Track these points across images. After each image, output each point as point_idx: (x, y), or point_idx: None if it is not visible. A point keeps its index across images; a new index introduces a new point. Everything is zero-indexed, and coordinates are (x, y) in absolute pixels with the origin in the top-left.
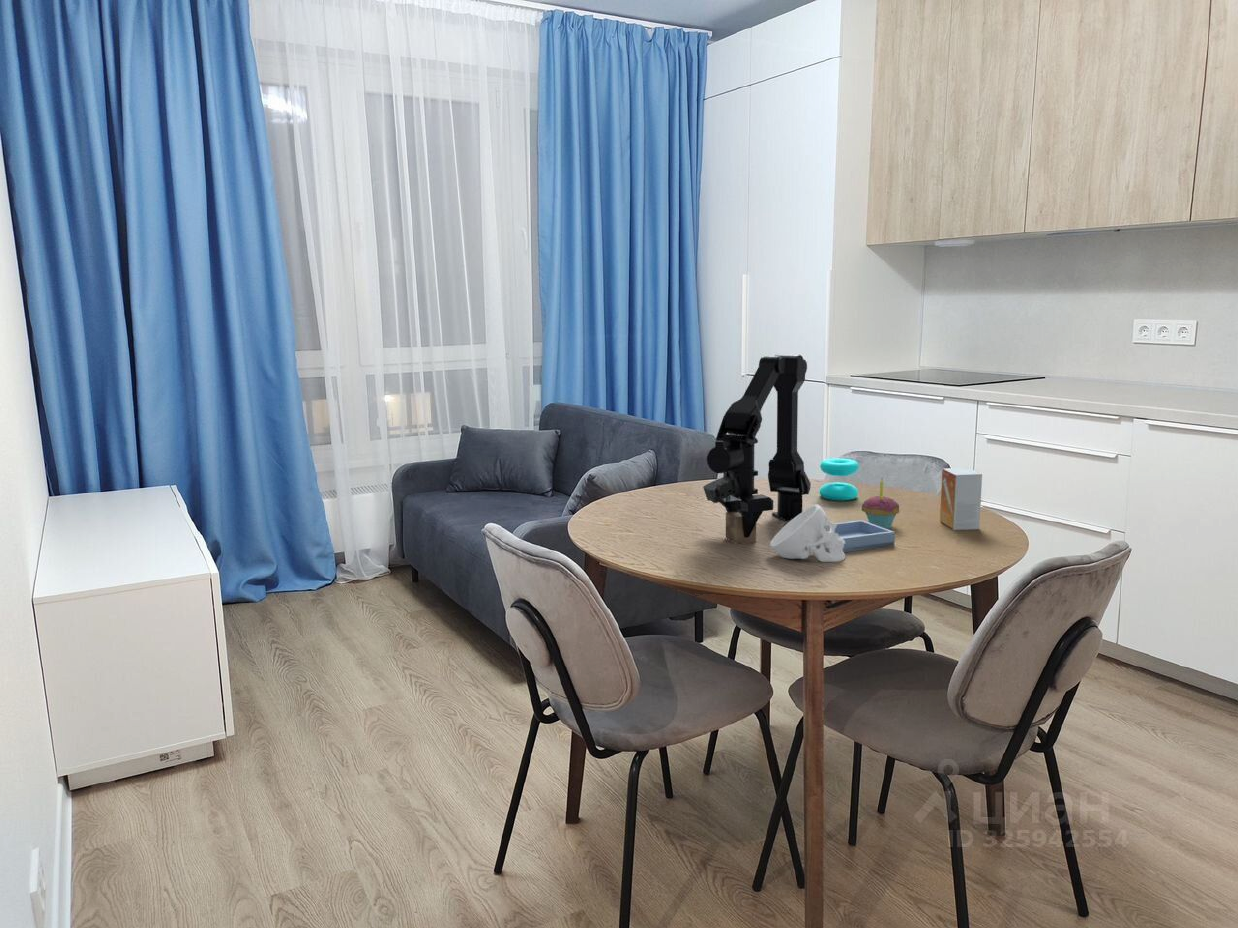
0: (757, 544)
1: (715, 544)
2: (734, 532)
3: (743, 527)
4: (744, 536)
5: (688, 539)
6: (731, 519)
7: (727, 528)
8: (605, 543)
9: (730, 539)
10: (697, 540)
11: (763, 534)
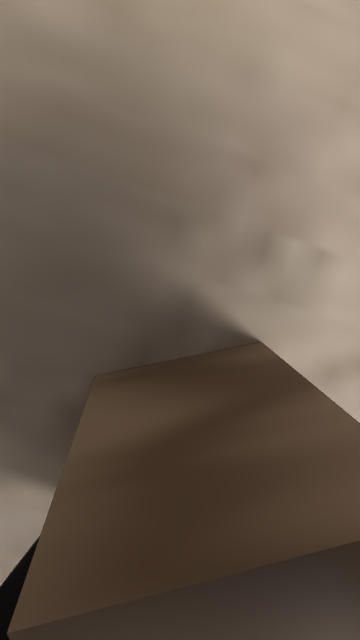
0: (50, 505)
1: (111, 210)
2: (114, 415)
3: None
4: None
5: (337, 9)
6: (207, 500)
7: (267, 386)
8: None
9: (185, 361)
10: (278, 89)
11: None
